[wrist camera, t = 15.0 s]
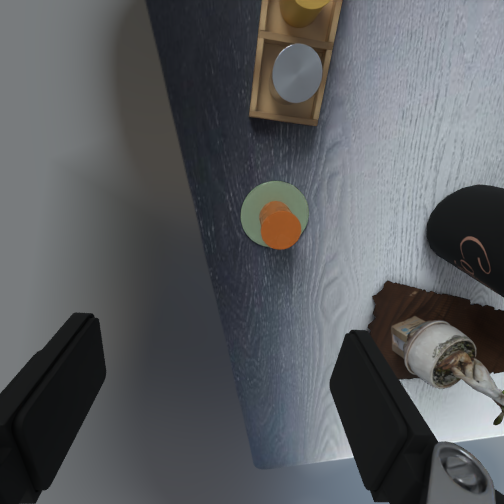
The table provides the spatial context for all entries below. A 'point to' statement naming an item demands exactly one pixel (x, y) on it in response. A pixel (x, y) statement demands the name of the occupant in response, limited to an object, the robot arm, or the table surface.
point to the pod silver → (295, 74)
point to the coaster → (268, 194)
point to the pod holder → (273, 43)
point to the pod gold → (301, 11)
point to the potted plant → (439, 339)
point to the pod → (279, 225)
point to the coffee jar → (471, 233)
